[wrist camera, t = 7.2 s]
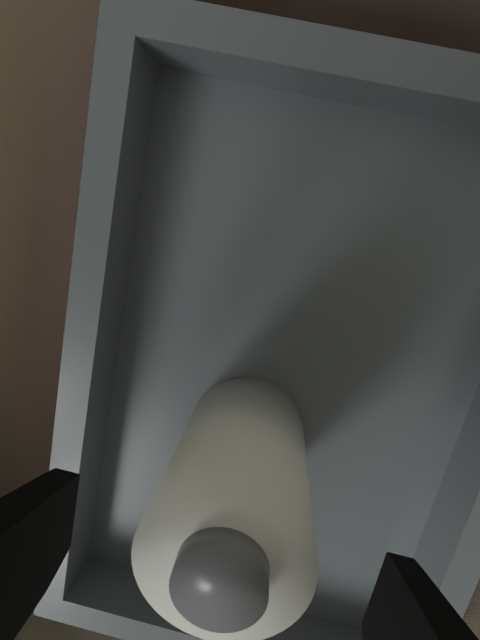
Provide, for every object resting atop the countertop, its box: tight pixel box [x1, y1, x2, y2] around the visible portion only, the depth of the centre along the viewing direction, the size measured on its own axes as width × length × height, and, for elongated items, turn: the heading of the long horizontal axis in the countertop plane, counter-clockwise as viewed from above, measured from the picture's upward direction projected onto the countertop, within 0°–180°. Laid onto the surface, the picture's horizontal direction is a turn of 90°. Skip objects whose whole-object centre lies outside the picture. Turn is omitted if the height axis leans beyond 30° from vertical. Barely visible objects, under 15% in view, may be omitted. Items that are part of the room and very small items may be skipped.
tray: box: [34, 0, 480, 640], centre depth 13 cm, size 14×20×2 cm
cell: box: [131, 378, 318, 640], centre depth 11 cm, size 4×4×7 cm
